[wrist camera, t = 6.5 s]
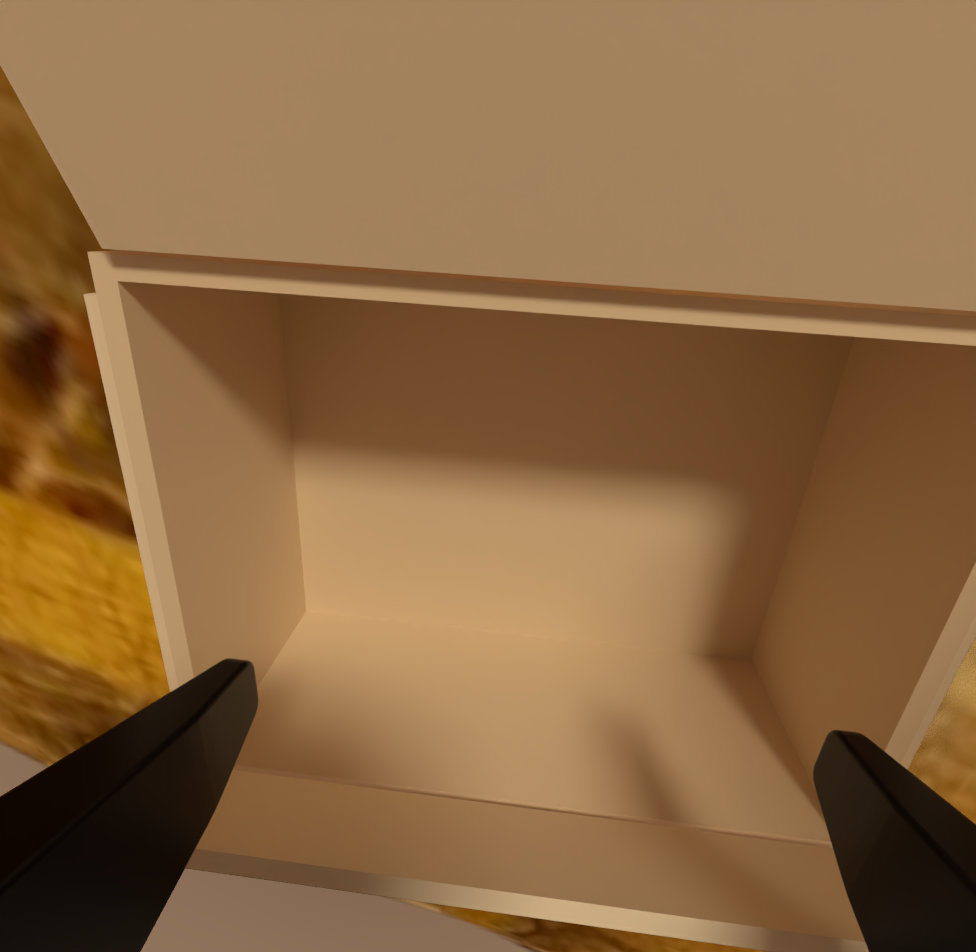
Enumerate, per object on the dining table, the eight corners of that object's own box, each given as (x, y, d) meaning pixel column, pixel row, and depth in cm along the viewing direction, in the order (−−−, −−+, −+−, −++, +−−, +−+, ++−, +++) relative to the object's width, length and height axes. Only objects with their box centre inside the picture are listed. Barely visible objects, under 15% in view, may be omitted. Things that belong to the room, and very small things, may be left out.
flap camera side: (208, 766, 13) (204, 780, 13) (91, 833, 9) (86, 854, 9) (843, 849, 12) (843, 865, 12) (983, 959, 8) (986, 982, 8)
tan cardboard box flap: (1107, 320, 7) (1092, 307, 8) (1488, -49, 5) (1453, -56, 5) (101, 248, 8) (113, 238, 8) (-91, -100, 5) (-70, -105, 6)
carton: (904, 291, 13) (1163, 330, 8) (774, 669, 18) (877, 863, 12) (244, 245, 14) (53, 249, 9) (283, 614, 19) (174, 771, 13)
